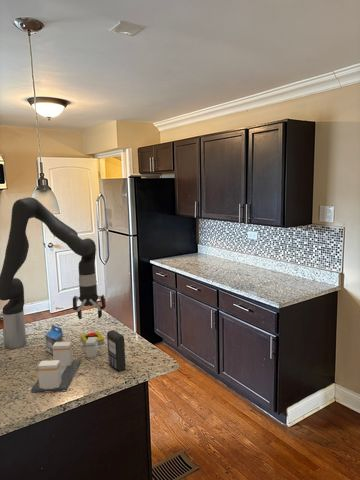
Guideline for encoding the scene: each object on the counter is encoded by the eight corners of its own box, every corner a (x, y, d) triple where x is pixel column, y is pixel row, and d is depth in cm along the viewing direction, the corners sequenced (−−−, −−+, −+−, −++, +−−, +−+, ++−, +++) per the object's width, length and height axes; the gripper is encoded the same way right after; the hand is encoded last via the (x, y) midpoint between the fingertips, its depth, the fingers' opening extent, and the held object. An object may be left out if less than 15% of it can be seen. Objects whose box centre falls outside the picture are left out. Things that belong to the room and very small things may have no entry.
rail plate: (31, 392, 134) (31, 389, 133) (50, 364, 155) (50, 361, 155) (66, 391, 134) (66, 388, 134) (80, 362, 156) (80, 360, 156)
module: (86, 357, 161) (85, 342, 160) (89, 351, 167) (88, 337, 166) (95, 357, 161) (94, 342, 160) (98, 351, 167) (97, 336, 166)
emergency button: (97, 327, 185) (105, 338, 172) (97, 335, 185) (106, 346, 172) (79, 331, 180) (86, 342, 167) (79, 340, 181) (87, 351, 168)
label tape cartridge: (46, 351, 168) (43, 326, 166) (53, 348, 171) (51, 324, 169) (56, 357, 162) (54, 331, 160) (64, 353, 165) (62, 328, 163)
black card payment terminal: (107, 364, 154) (105, 331, 151) (115, 361, 156) (113, 328, 154) (118, 372, 147) (116, 338, 144) (126, 369, 149) (124, 335, 147)
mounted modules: (39, 388, 134) (37, 366, 133) (56, 361, 155) (55, 342, 154) (58, 387, 134) (56, 365, 133) (73, 360, 155) (71, 341, 154)
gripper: (69, 286, 155) (72, 321, 157) (102, 285, 156) (104, 320, 158) (73, 281, 163) (76, 315, 165) (105, 280, 163) (107, 314, 165)
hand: (90, 318), depth 161 cm, fingers open, 8 cm apart
